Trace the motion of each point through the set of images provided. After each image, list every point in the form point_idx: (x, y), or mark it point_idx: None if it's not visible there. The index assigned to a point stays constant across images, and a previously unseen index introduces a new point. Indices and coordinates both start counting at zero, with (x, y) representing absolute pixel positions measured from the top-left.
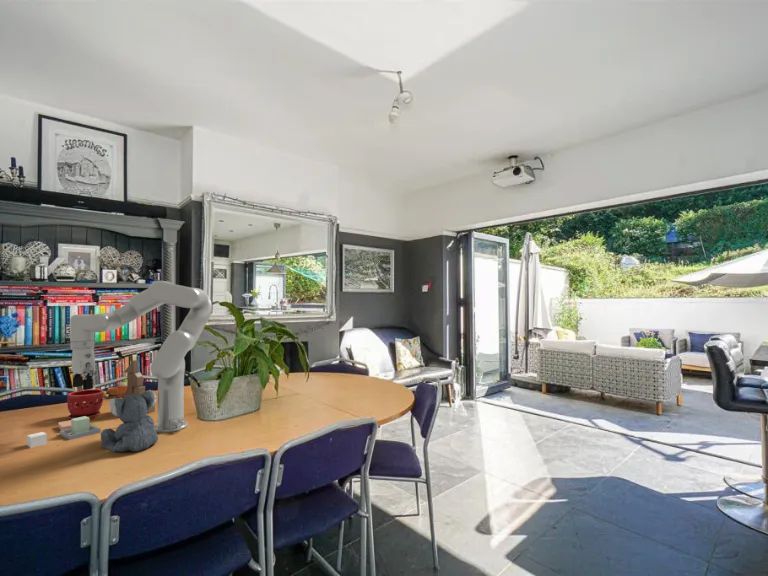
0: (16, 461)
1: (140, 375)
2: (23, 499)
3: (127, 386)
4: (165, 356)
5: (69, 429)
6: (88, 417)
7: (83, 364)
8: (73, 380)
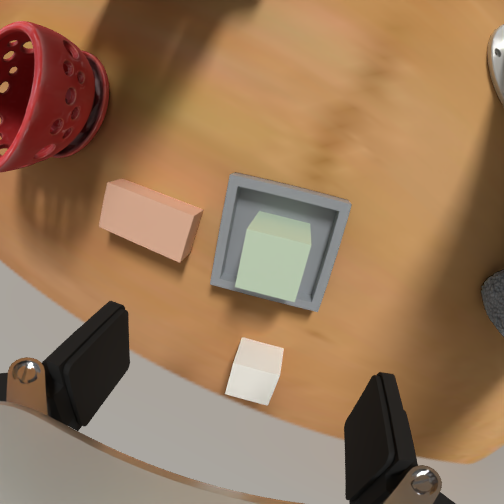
0: (326, 422)
1: None
2: (486, 454)
3: None
4: None
5: (222, 257)
6: (297, 241)
7: None
8: (93, 408)
